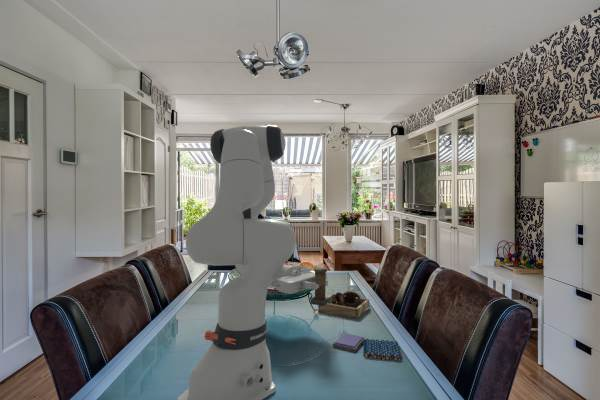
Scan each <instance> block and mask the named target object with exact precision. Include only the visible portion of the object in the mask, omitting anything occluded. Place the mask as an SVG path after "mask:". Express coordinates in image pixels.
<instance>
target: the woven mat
mask: <svg viewBox="0 0 600 400" xmlns="http://www.w3.org/2000/svg"><path fill="white" fill-rule="evenodd" d="M398 344H399V342H398V341H397V340H396V341H395V340H384V339H370V338H365V340H364V343H363V344H362V345H363V355H362V356H363V357H364V358H371V359H372V358H373V359H376V358H377V359H381V360H385V359H386V360H390V359H392V360H393V359H395V360H394V361H398V360H399V359H401V360H402V359H403V355H402V352H401V348H400V345H399V346H398ZM398 358H399V359H398Z"/></svg>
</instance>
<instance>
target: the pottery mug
mask: <svg viewBox="0 0 600 400" xmlns="http://www.w3.org/2000/svg"><path fill="white" fill-rule="evenodd" d="M334 294H335V299H336V300H337V302H338V303H339V304H338V305H340V306H346V307H352V308H357V307H358V306H360V305H361V299H360V298H361V296H360V295H359V293H358V292H355V291H352V290H349V291H345V292H343V293H341V292H336V293H334ZM344 296H346V297H344ZM355 298H358V301H357V302H356V301H355Z"/></svg>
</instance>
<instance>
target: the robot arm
mask: <svg viewBox="0 0 600 400" xmlns="http://www.w3.org/2000/svg"><path fill="white" fill-rule="evenodd" d="M209 144H210V145H209V146H210V151H211V152H210V153H211V154H212V157H213V159H214V161H215V162H217V163H218V164H220V167H219V168H220V171H219V173H220V174H219V175H220V176H219V187H218V192H217V198H216V200H215V202H214V204H213V206H212V208H211V209H210V210H209V211H208V212H207V214H205V215H204V216H203V217H202V218H201V219H198V220H197V221H196V222H194V223H193V224H192V226H191V227H190V229H189V230H188V231H187V234H186V237H185V248H186V249H185V250H186V252H187V254H188V256H189V257H190V259H191V261H192V262H194V263H197V264H201V265H202V264H203V265H206V266H207V265H208V266H215V267H216V266H219V267H220V266H234V268H235V270H236V271H237V273H238V274H239V276H237V277H236V278H233V279H231V280H230V281H228V282H227V283H225V284H224V285H223V286H222V287H221V289H220V290H219V293H218V299H217V300H218V301H217V303H218V305H217V308H218V309H217V310H218V317H217V318H218V319H217V320H218V321H217V323H216V326H215V329H214V331H211V330H206V331H205V333H204V339H205V340H206V341H210V342H212V343H211V344H210V346H209V348H207V350H206V351H205V353H204V354H203V356H202V357H201V359H200V360H199V361H198V363H197V364H196V366H194V368H193V369H192V371H191V373H190V376H189V381H188V383H189V384H188V387H187V389H185V391H183V392H182V393H181V394H179V395H178V396H177V398H176V400H264V399H265V398H267V397H269V396H271V395H272V394H274V393H275V392H276V390H277V389H276V384H275V382H274V381H273V378H272V364H271V363H272V362H271V353H270V351H269V348H268V344H267V341H266V339H267V338H268V337H267V336H268V324H267V323H268V322H267V320H266V301H267V294H268V288H269V289H276V291H279V292H281V293H285V294H287V295H289V294H290V295H291V294H295V293H298V292H301V291H305V290H314V291H315V290H316V289H319V283H316V282H315V272H314V268H310V267H308V266H307V265H290V264H285V263H286V262H287V261H289V260H290V258H291V257H292V255H293V254H294V252H295V249H296V246H297V237H296V233H295V230H294V228H293V227H292V226H291V225H290V223H289V222H287V221H284V220H279V219H272V218H258V217H259V215H260V214H261V213H262V212H263V210H264V209H266V207H268V206H269V205H270V204H271V202H272V201H273V199H274V197H275V193H276V183H275V176H274V175H275V174H274V170H273V164H275V163H276V161H278V160H280V159H281V158H282V157H283V155H284V152H285V150H286V137H285V135H284V133H283V131H282V129H281V128H280V127H279V126H278V125H275V124H274V125H272V124H267V125H243V126H242V125H241V126H235V127H230V128H222V129H218V130H216V131H214V132H213V134H212V135H211V137H210V143H209ZM272 163H273V164H272ZM328 285H329V281H328V273H327V272H326V287H328Z"/></svg>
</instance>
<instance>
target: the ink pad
mask: <svg viewBox="0 0 600 400" xmlns="http://www.w3.org/2000/svg"><path fill="white" fill-rule="evenodd" d="M364 340H366V336H365V337H364V336H361V335H357V334H356V335H355V334H351V333H346V332H344V333H343V334H341V336H339V337H338V338H337V339H336V340H335V341H334V342H333V343H332V347H333V348H336V349H341V350H344V351H349V352H353V353H356V352H358V350H359V348H361V346H362V345H364V344H363V343H364Z"/></svg>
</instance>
